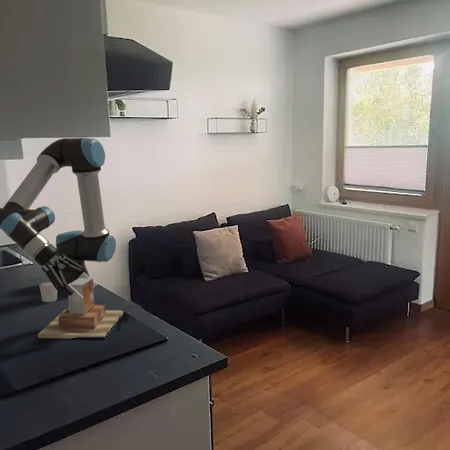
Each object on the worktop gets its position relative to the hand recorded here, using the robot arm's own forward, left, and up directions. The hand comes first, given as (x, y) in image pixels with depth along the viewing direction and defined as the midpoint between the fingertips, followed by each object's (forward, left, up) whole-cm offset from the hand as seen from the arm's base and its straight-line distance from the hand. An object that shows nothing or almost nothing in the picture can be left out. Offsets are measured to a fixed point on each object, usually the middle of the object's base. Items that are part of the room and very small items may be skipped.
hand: (88, 293), depth 154 cm
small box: (0, -3, -6) cm, 7 cm away
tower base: (0, -2, -11) cm, 12 cm away
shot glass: (-25, -25, -12) cm, 37 cm away
